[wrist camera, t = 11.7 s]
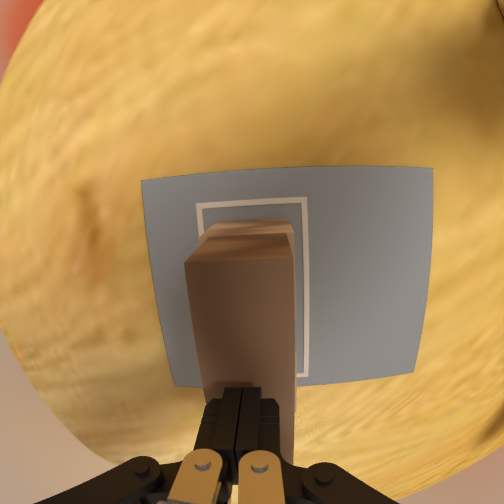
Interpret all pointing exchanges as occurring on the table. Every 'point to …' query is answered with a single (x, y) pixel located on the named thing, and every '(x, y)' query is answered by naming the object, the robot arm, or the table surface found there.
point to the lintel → (246, 319)
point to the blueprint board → (309, 260)
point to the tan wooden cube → (254, 228)
